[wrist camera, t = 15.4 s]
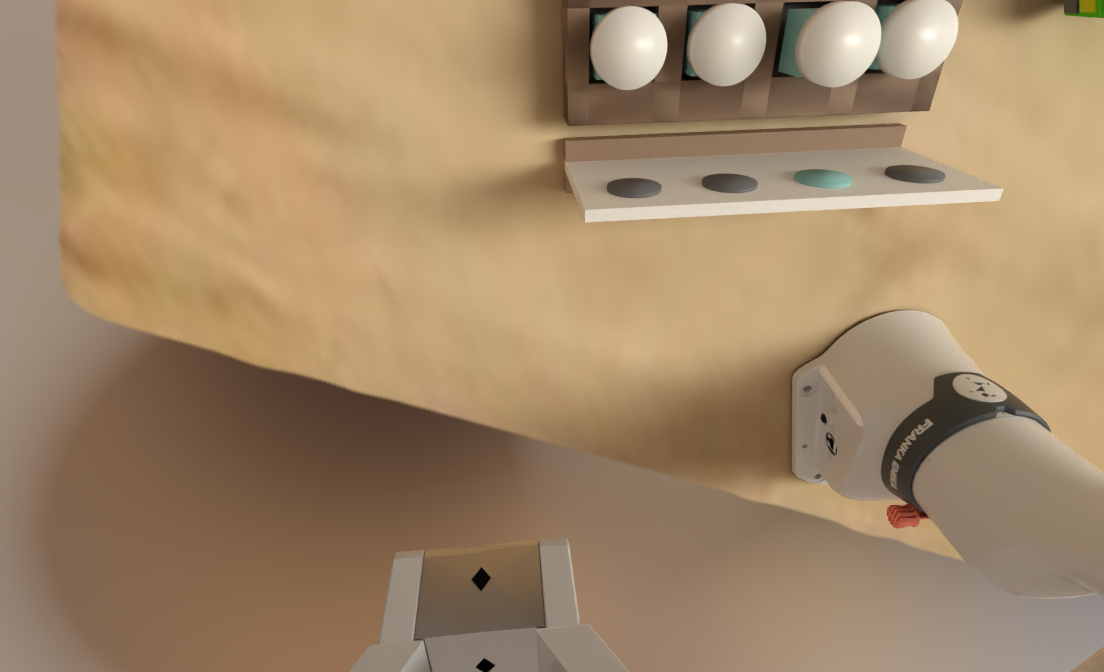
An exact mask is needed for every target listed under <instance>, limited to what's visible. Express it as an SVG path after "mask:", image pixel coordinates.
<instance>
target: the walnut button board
mask: <svg viewBox="0 0 1104 672" xmlns="http://www.w3.org/2000/svg"><path fill="white" fill-rule="evenodd" d="M835 1H853V2H861V3H864V4H866V5H868V6H869V7H871V8H872V9H873V10H874V11H875V9H876V5H890V4H900V3H902V2H904V1H906V0H563V77H564V119H565V121H566V122H567V124H568V126H578V125H602V124H626V123H650V122H673V121H697V120H721V119H745V118H769V117H793V116H816V115H840V114H864V113H888V112H912V111H929V109H930V106H931V103H932V99H933V96H934V93H935V89H936V86H937V83H938V80H939V76H940V73H941V70H942V66H943V63H944V61H943V62H942V63H941V64H940V65H939V66H938V67H937V68H936V69H935V70H933V71H932V72H930V73H929V74H927V75H925V76H922V77H920V78H916V79H904V78H899V77H895V76H891V75H888V74H886V73H884V72H883V71H882V70H880V69H875V70H874V69H870V68H868V69H867V70H866V71H865V72H864V73H863V74H862V75H861V76H860V77H859V78H857V79H856V80H854V81H853V82H851V83H849V84H847V85H844V86H840V87H825V86H822V85H819V84H815V83H813V82H810V81H808V80H807V79H805V78H804V77H795V76H792V75H789V74H786V73H782V72H779V71H778V68H779V62H780V56H781V50H782V44H783V38H784V32H785V27H786V21H787V15H788V9H808V8H821V7H822V6H824V5H826V4H829V3H831V2H835ZM946 1H947V2H949V3H950V4H951V5H952V6H953V8H954V9H955V11H956V13H957V17H958V13H959V10H960V7H961V3H962V0H946ZM722 3H737V4H743V5H746V6H749V7H750V8H752V9H753V10H755V11H756V12H757V13H758V14H759V16H760V17H761V19H762V21H763V23H764V26H765V30H766V46H765V51H764V54H763V56H762V59H761V61H760V63H759V64H758V66H757V67H756V69H755V70H754V71H753V72H752V73H751V74H750V75H749V76H748V77H747V78H746V79H744V80H743V81H741V82H739V83H737V84H734V85H731V86H716V85H713V84H710V83H708V82H706V81H704V80H702V79H701V78H699V77H698V76H689V75H687V74H685V73H683V72H682V65H683V54H684V42H685V31H686V19H687V11H690V10H708V9H709V8H711V7H713V6H715V5H718V4H722ZM622 6H636V7H641V8H644V9H647V10H648V11H650V12H652V13H655V14H656V17H657V18H658V19H659V20H660V22H661V23H662V25H663V27H664V30H665V32H666V37H667V54H666V58H665V61H664V64H663V66H662V68H661V70H660V71H659V73H658V74H657V75H656V76H655V78H654V79H653V80H651V81H650V82H649V83H648V84H646V85H644V86H643V87H640V88H638V89H634V90H621V89H617V88H615V87H613V86H611V85H609V84H608V83H606V82H605V81H604V80H596V79H595V78H594V77H593V76H592V75H591V74H590V72H591V56H590V42H591V13H608V12H610V11H612V10H613V9H616V8H618V7H622Z"/></svg>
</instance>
